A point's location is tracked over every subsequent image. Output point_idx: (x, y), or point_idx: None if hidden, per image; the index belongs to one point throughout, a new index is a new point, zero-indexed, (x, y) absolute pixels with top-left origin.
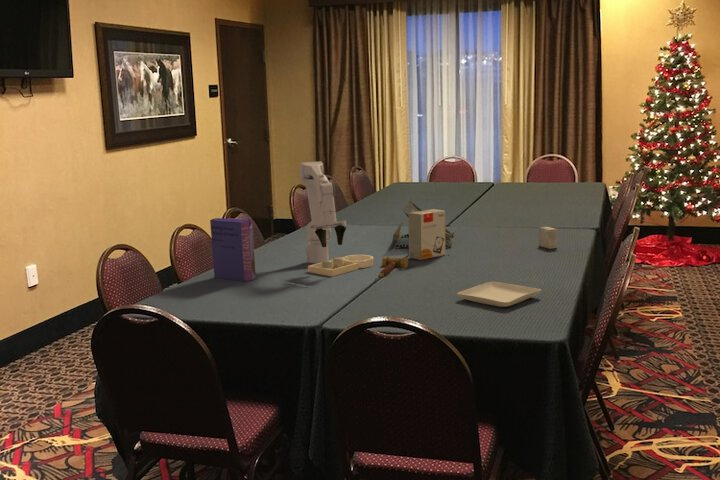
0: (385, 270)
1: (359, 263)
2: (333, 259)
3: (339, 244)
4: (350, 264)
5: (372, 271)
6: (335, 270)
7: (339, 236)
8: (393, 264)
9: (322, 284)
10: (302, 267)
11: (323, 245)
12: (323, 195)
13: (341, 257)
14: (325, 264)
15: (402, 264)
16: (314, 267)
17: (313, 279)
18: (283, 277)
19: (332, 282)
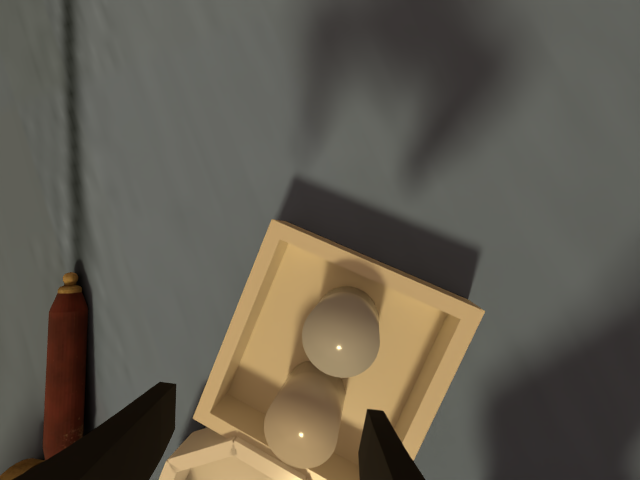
0: (48, 324)
1: (199, 441)
2: (321, 401)
3: (158, 383)
4: (244, 422)
5: (148, 386)
6: (263, 245)
7: (64, 452)
8: (43, 441)
9: (281, 80)
10: (581, 450)
11: (368, 422)
12: None
13: (288, 463)
14: (342, 296)
15: (23, 466)
16: (419, 282)
17: (372, 167)
18: (587, 169)
19: (249, 132)
